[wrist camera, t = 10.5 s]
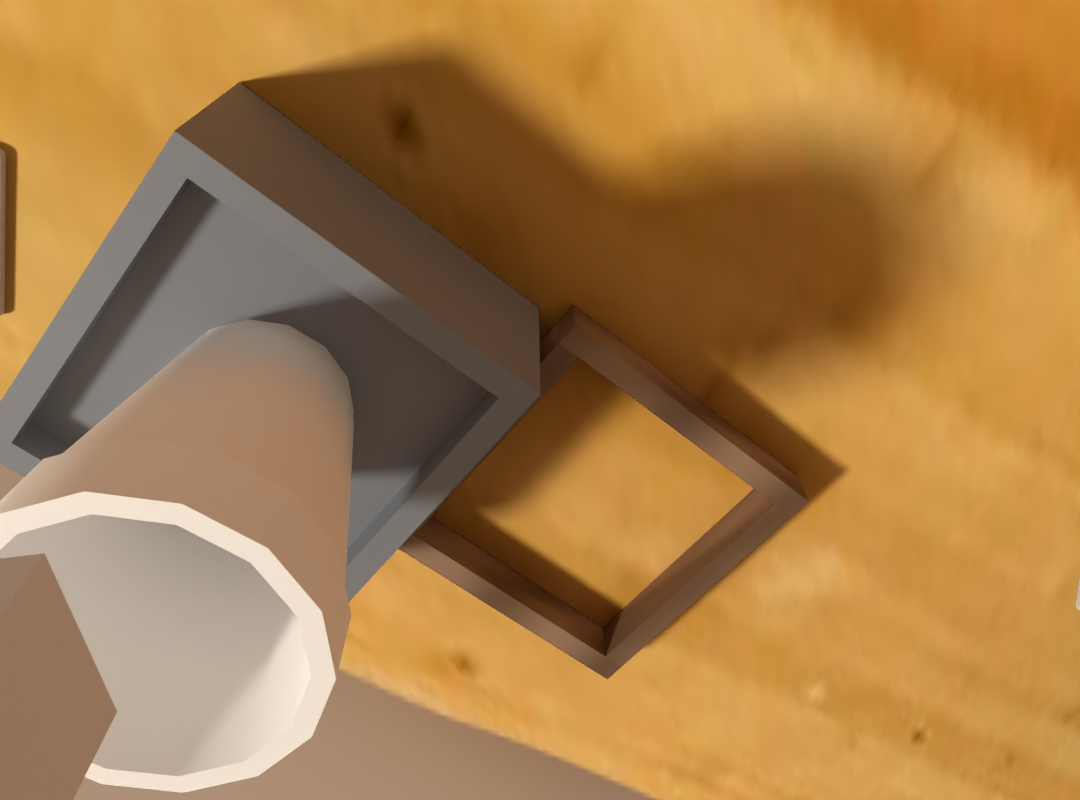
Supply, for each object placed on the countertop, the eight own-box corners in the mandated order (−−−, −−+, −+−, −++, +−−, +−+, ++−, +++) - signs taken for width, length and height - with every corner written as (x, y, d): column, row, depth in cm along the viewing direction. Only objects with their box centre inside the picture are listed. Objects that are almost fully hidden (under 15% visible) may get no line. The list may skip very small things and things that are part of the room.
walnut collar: (797, 475, 44) (808, 501, 43) (604, 649, 49) (607, 679, 47) (573, 304, 40) (575, 324, 39) (387, 511, 45) (381, 537, 43)
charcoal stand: (538, 307, 40) (540, 394, 34) (344, 528, 46) (312, 641, 39) (239, 81, 36) (174, 130, 30) (61, 353, 41) (-29, 446, 35)
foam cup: (86, 427, 36) (-121, 690, 25) (200, 224, 32) (20, 420, 21) (318, 549, 39) (228, 837, 27) (447, 373, 35) (407, 620, 24)
